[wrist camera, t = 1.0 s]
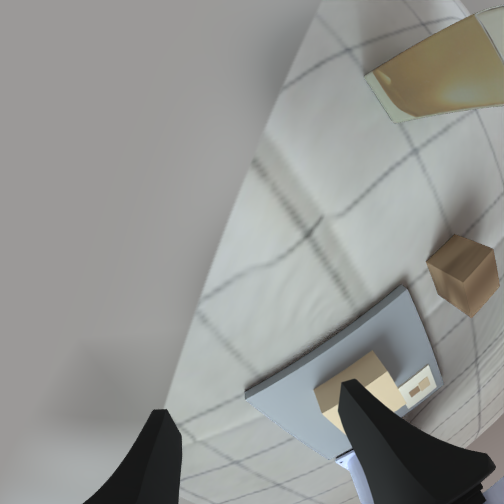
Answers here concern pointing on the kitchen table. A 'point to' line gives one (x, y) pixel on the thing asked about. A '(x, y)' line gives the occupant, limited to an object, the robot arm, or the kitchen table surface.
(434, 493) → the robot arm
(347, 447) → the build board
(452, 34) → the skincare box
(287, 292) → the kitchen table surface
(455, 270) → the walnut block
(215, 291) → the kitchen table surface
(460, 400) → the kitchen table surface
